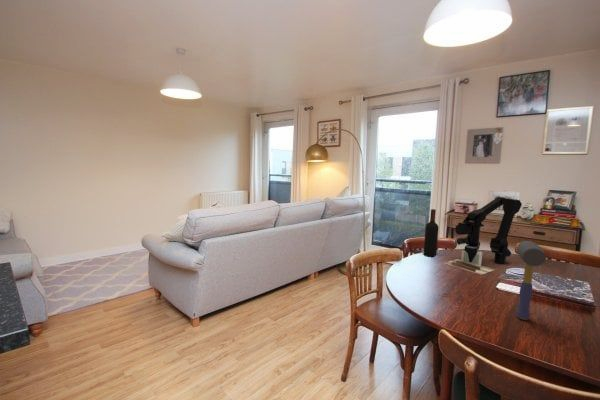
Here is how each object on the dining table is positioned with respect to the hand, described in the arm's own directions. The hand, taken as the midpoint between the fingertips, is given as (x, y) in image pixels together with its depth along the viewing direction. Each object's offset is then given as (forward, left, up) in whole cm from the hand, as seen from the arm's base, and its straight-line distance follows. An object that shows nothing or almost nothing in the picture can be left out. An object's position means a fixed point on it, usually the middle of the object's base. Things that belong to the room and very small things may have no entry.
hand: (471, 260), depth 171 cm
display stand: (+4, +1, -4) cm, 5 cm away
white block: (0, 0, -2) cm, 2 cm away
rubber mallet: (+42, +42, -4) cm, 59 cm away
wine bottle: (+4, -24, -4) cm, 25 cm away
